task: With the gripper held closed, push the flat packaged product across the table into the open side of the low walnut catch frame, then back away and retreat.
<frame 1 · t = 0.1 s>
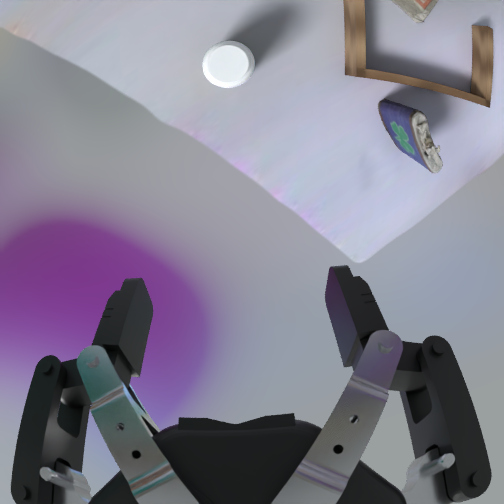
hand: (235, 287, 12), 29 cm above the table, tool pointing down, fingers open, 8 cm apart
flask: (393, 125, 36), on the table
catch frame: (421, 42, 27), on the table
supplement bottle: (230, 64, 31), on the table
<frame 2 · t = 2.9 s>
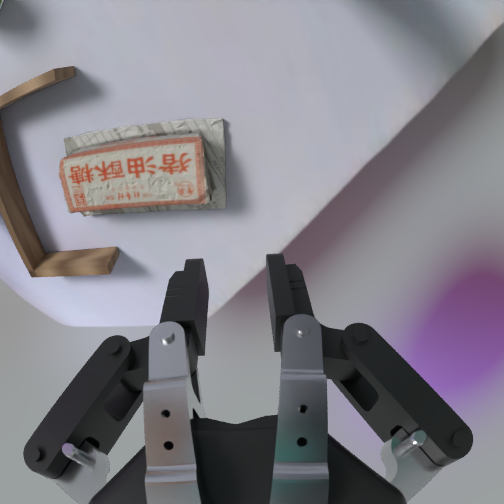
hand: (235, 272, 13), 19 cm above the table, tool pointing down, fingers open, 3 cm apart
packaged product: (144, 165, 29), on the table
catch frame: (49, 177, 28), on the table
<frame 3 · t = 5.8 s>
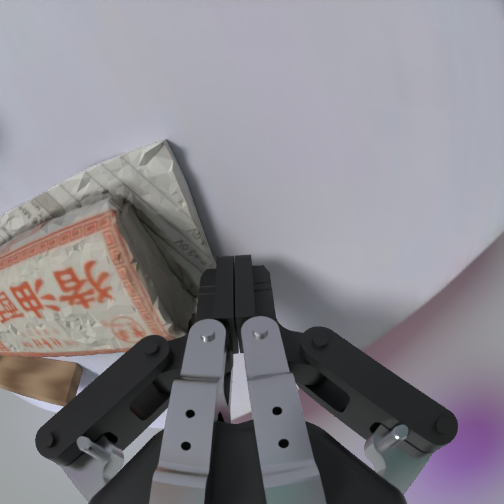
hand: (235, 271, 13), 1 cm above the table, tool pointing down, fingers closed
packaged product: (70, 265, 15), on the table, touching gripper
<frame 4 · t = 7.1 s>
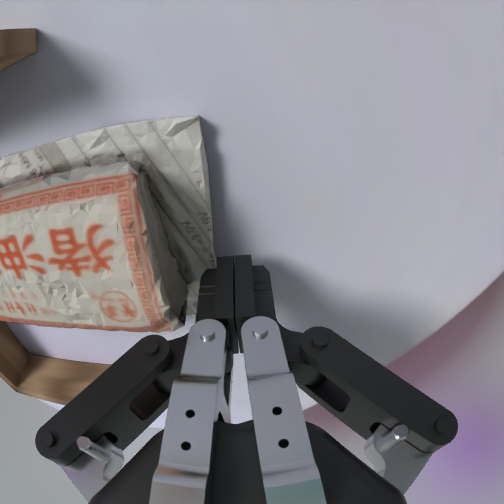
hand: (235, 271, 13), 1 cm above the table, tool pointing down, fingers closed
packaged product: (57, 228, 13), on the table, touching gripper
catch frame: (9, 261, 14), on the table
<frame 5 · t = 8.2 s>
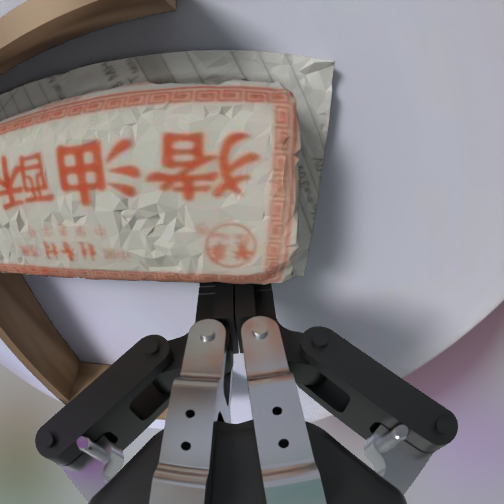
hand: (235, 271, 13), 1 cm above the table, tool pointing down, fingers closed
packaged product: (118, 166, 12), on the table, touching gripper
catch frame: (84, 258, 14), on the table
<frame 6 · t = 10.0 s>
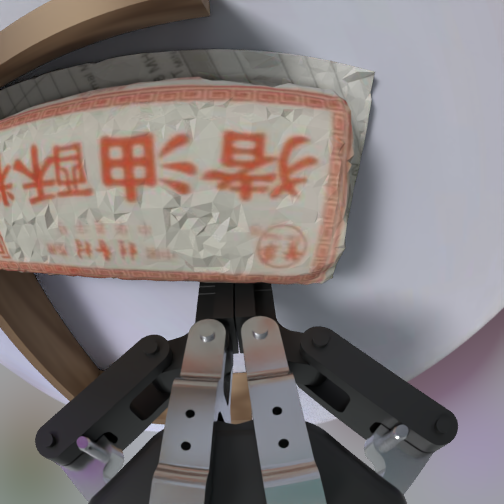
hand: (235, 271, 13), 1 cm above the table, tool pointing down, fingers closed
packaged product: (149, 162, 12), on the table, touching gripper
catch frame: (108, 268, 14), on the table
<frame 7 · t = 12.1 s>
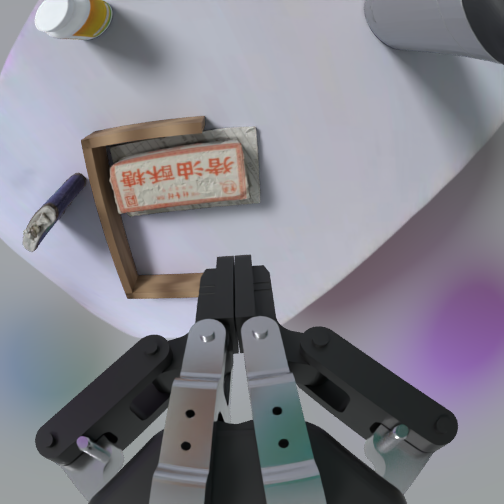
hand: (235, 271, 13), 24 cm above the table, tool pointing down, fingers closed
flask: (67, 194, 35), on the table
packaged product: (186, 169, 35), on the table
catch frame: (161, 211, 37), on the table
supplement bottle: (93, 20, 21), on the table
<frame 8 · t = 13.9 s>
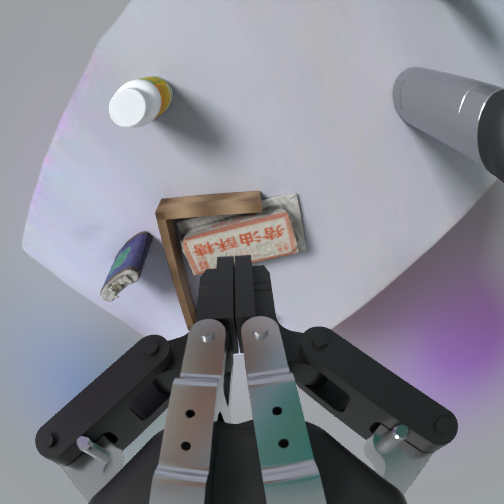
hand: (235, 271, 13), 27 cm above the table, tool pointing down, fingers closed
flask: (133, 247, 45), on the table
packaged product: (243, 231, 45), on the table
catch frame: (219, 262, 47), on the table
supplement bottle: (153, 95, 31), on the table
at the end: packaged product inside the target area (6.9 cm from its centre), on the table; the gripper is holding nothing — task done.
